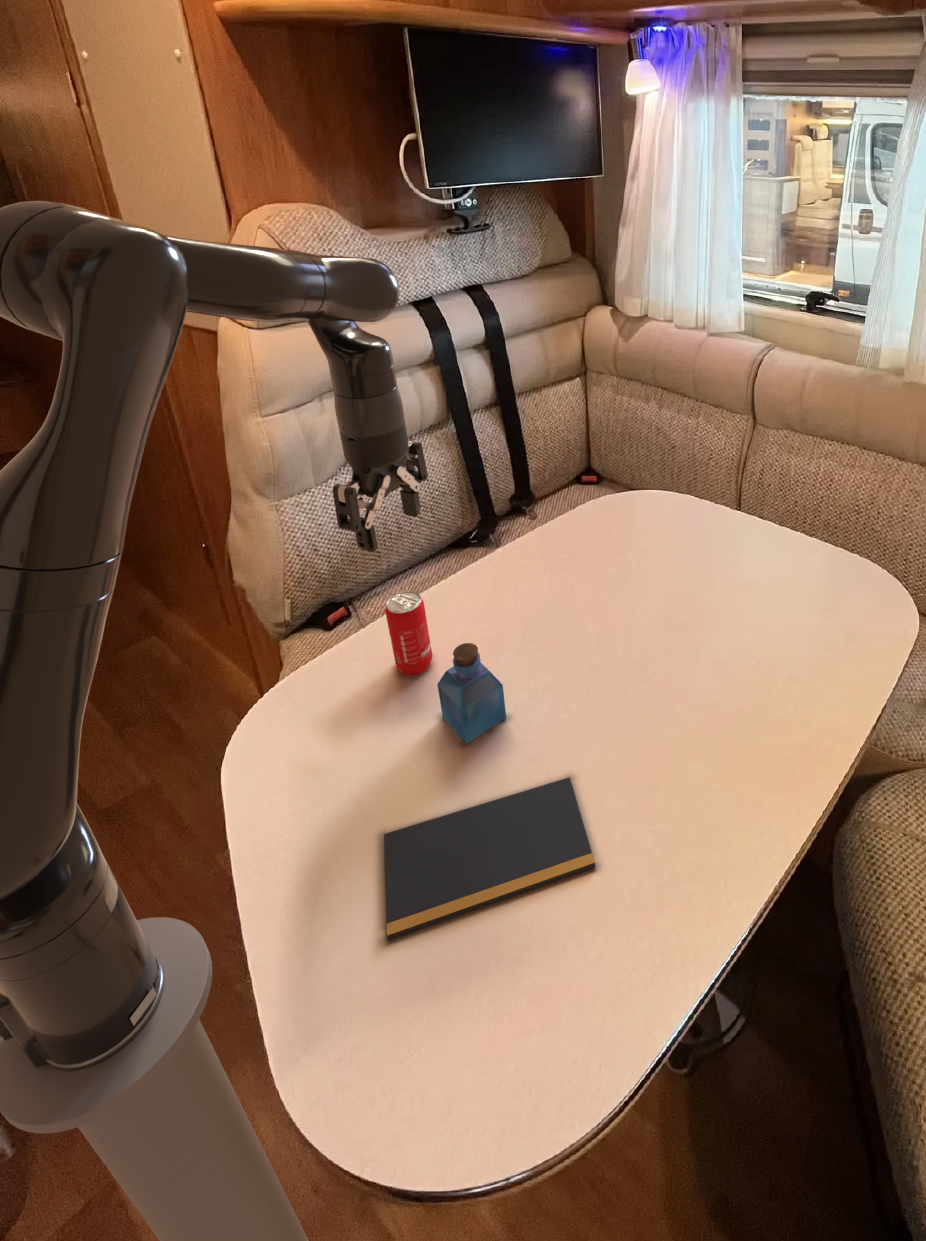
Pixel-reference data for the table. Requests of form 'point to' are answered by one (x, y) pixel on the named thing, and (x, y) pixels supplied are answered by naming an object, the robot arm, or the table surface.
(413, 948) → the table surface
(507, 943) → the table surface
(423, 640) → the beverage can
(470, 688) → the perfume bottle
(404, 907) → the front mat
